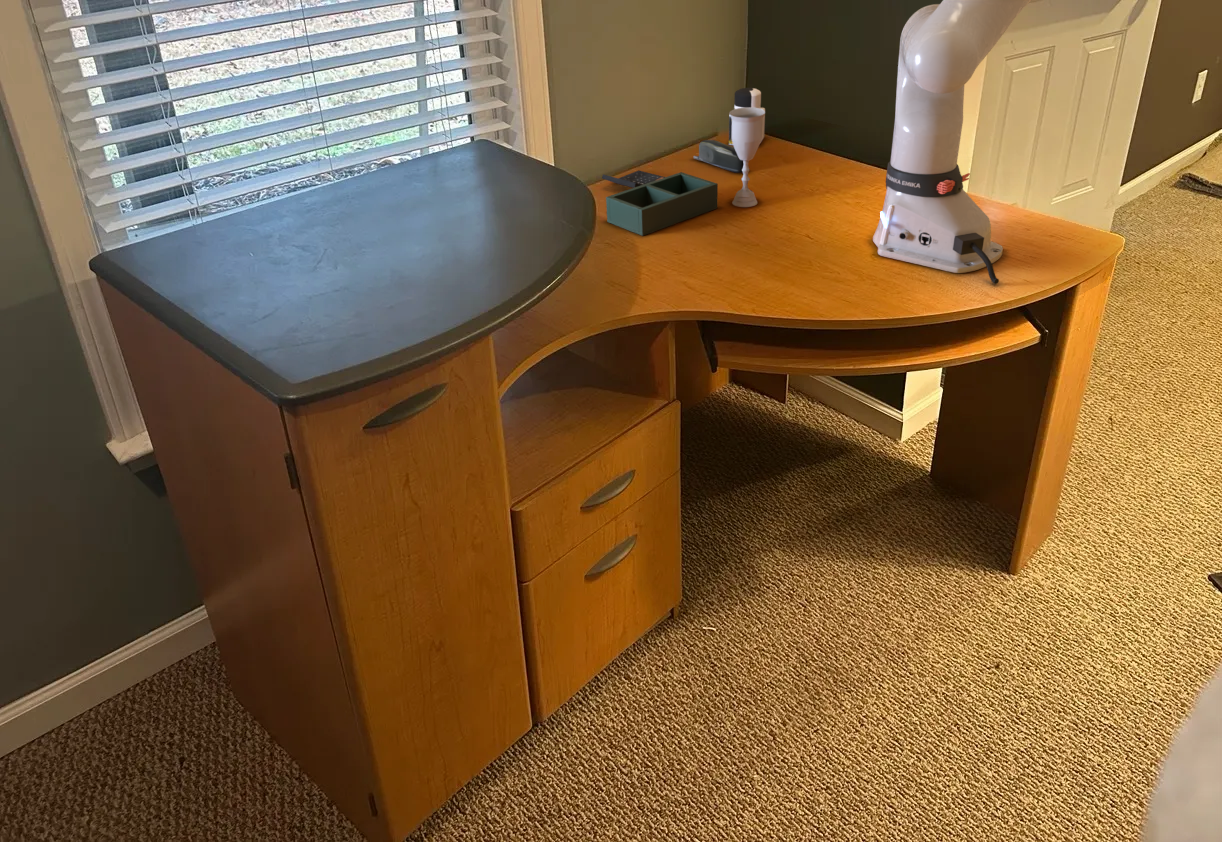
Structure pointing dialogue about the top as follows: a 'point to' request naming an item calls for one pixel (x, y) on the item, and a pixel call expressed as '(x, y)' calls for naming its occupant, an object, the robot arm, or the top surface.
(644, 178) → the calculator
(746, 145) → the chalice
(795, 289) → the top surface
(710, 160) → the stapler
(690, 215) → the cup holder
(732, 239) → the top surface
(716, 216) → the top surface
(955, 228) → the robot arm
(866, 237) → the top surface
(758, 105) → the medicine bottle
